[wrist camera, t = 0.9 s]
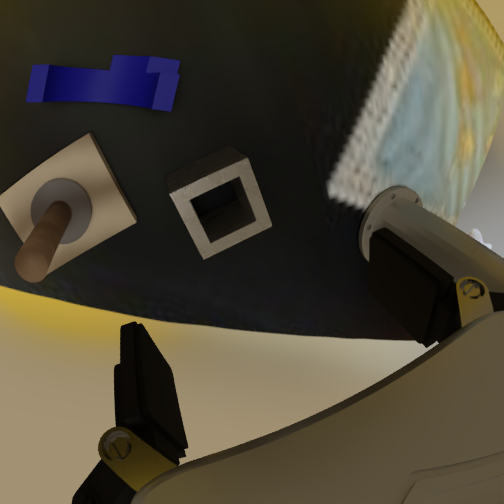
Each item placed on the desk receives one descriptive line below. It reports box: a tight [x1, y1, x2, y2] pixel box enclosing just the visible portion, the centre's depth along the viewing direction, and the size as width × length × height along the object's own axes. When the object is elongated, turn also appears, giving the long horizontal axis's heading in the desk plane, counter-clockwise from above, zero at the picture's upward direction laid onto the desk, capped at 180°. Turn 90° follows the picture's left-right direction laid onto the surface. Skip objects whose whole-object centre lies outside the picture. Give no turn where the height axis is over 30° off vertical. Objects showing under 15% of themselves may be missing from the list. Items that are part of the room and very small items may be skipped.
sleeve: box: [165, 146, 272, 259], centre depth 29 cm, size 7×7×6 cm
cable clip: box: [26, 55, 180, 111], centre depth 20 cm, size 12×4×6 cm, turn 75°
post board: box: [0, 132, 137, 282], centre depth 22 cm, size 10×12×12 cm
